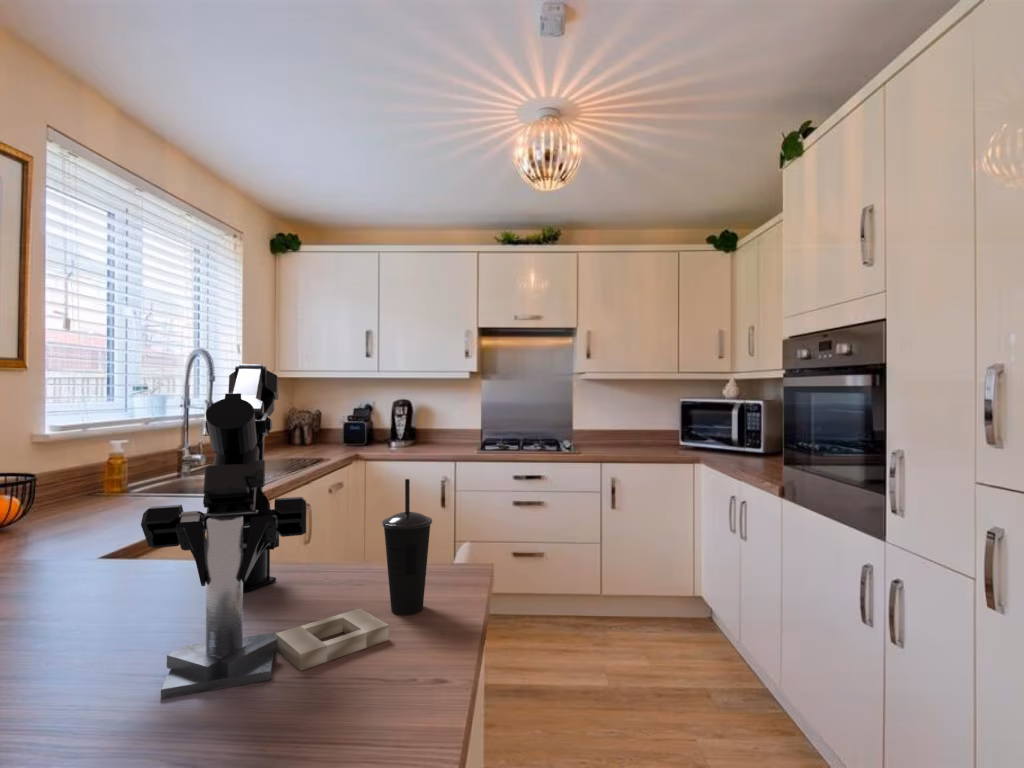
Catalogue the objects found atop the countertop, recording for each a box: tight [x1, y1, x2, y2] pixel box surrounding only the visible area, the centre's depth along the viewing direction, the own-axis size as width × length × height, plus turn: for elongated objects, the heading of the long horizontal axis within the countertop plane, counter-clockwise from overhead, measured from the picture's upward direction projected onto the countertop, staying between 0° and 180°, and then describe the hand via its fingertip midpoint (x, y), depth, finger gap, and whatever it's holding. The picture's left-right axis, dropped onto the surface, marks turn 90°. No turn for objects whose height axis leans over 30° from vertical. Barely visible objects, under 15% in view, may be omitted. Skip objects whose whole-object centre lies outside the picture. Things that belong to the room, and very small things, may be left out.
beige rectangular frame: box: [275, 608, 390, 672], centre depth 73 cm, size 12×8×2 cm, turn 134°
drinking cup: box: [381, 478, 433, 616], centre depth 85 cm, size 8×8×20 cm
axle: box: [205, 515, 244, 657], centre depth 67 cm, size 4×4×16 cm
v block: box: [160, 632, 279, 699], centre depth 67 cm, size 11×12×2 cm
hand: (223, 582), depth 66 cm, fingers closed on axle, 4 cm apart
